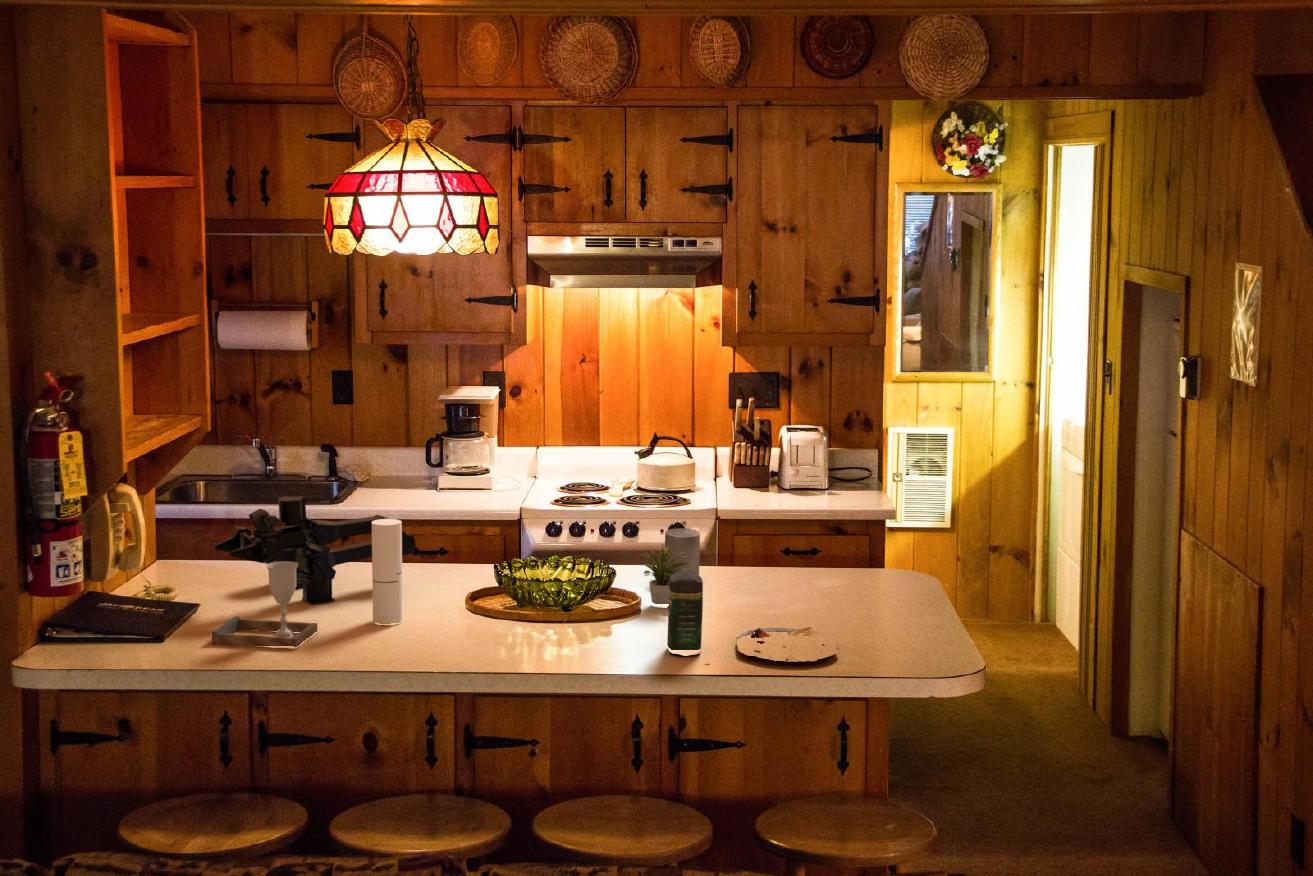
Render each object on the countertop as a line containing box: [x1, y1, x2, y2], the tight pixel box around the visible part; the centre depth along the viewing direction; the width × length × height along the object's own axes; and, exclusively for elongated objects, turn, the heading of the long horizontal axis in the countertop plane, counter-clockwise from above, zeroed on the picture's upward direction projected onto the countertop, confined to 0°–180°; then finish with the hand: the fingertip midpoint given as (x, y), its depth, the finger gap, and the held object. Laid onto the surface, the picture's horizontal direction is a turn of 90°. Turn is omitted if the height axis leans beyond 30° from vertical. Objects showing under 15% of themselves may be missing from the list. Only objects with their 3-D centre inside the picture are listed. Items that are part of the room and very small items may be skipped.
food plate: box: [735, 626, 839, 653], centre depth 340 cm, size 25×23×4 cm
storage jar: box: [275, 526, 313, 590], centre depth 388 cm, size 10×10×15 cm
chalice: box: [265, 561, 298, 637], centre depth 340 cm, size 7×7×18 cm
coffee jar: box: [666, 571, 704, 650], centre depth 337 cm, size 10×8×19 cm
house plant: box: [640, 543, 691, 604], centre depth 374 cm, size 14×14×16 cm
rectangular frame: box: [211, 615, 318, 647], centre depth 341 cm, size 20×13×3 cm, turn 82°
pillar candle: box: [664, 527, 701, 577], centre depth 400 cm, size 10×10×15 cm
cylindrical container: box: [371, 518, 404, 624], centre depth 355 cm, size 7×7×25 cm
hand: (222, 551), depth 356 cm, fingers open, 9 cm apart
